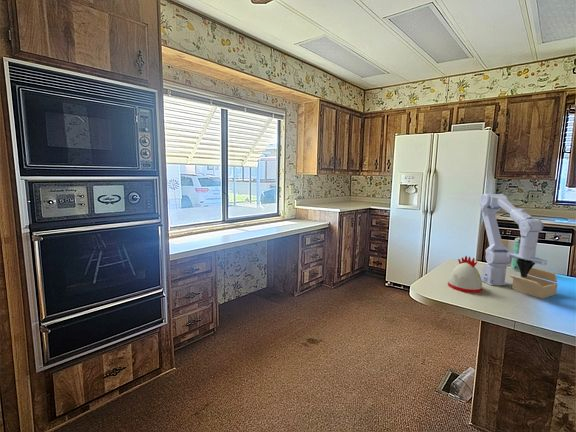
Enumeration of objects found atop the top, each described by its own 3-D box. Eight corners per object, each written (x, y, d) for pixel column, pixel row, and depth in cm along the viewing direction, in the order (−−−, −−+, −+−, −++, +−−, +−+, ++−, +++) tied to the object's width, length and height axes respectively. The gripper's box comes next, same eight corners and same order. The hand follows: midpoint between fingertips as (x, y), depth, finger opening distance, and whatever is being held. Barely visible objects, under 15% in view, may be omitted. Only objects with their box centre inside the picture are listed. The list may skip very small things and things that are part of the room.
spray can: (524, 272, 172) (529, 236, 169) (513, 271, 173) (518, 235, 171) (519, 269, 178) (524, 234, 175) (509, 268, 179) (513, 233, 176)
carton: (541, 298, 136) (543, 287, 135) (511, 288, 146) (513, 278, 146) (556, 294, 141) (557, 283, 141) (526, 285, 152) (527, 275, 151)
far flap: (528, 274, 151) (529, 274, 151) (556, 282, 141) (557, 281, 141) (526, 266, 149) (526, 265, 149) (554, 273, 139) (555, 273, 139)
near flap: (542, 286, 135) (542, 287, 135) (514, 278, 145) (513, 279, 145) (537, 282, 133) (536, 282, 133) (508, 274, 143) (508, 274, 143)
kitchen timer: (473, 295, 138) (476, 262, 136) (442, 285, 149) (445, 254, 147) (487, 289, 146) (490, 257, 144) (456, 280, 157) (459, 250, 155)
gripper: (552, 249, 132) (548, 280, 134) (515, 242, 144) (511, 270, 146) (543, 251, 128) (539, 283, 130) (506, 243, 141) (502, 272, 143)
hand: (523, 276), depth 138 cm, fingers closed
